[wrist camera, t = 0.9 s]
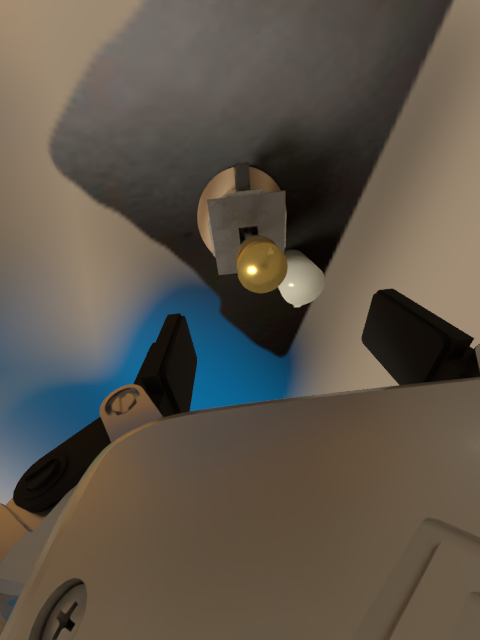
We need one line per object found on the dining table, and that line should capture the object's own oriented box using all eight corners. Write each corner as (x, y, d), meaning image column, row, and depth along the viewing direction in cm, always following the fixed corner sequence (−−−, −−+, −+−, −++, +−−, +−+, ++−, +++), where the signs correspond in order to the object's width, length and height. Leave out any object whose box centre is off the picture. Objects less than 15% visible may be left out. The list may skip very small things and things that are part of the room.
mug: (309, 247, 42) (327, 261, 34) (305, 289, 47) (320, 310, 39) (271, 251, 42) (280, 266, 34) (271, 293, 47) (280, 314, 39)
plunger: (270, 196, 29) (315, 211, 15) (271, 251, 33) (306, 306, 19) (216, 203, 29) (206, 223, 15) (224, 257, 33) (222, 315, 19)
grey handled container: (270, 164, 33) (291, 155, 22) (271, 247, 40) (288, 271, 30) (205, 171, 33) (195, 166, 23) (218, 253, 41) (215, 279, 30)
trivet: (287, 160, 34) (288, 160, 33) (284, 259, 43) (285, 260, 42) (188, 172, 34) (188, 172, 33) (206, 268, 43) (206, 269, 42)
